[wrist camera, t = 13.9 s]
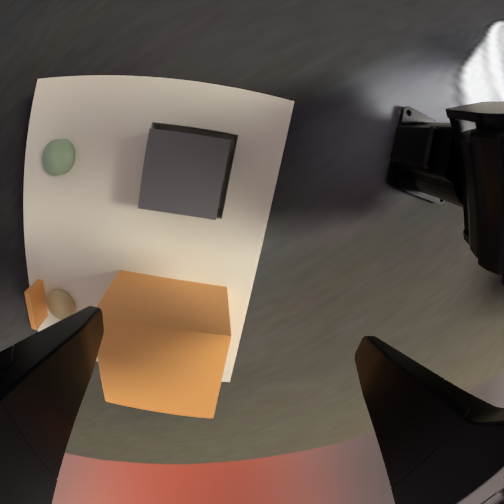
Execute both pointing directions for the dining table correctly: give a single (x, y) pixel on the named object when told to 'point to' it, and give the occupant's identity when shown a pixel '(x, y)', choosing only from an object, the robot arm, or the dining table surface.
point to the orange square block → (164, 344)
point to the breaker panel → (128, 189)
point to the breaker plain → (183, 173)
